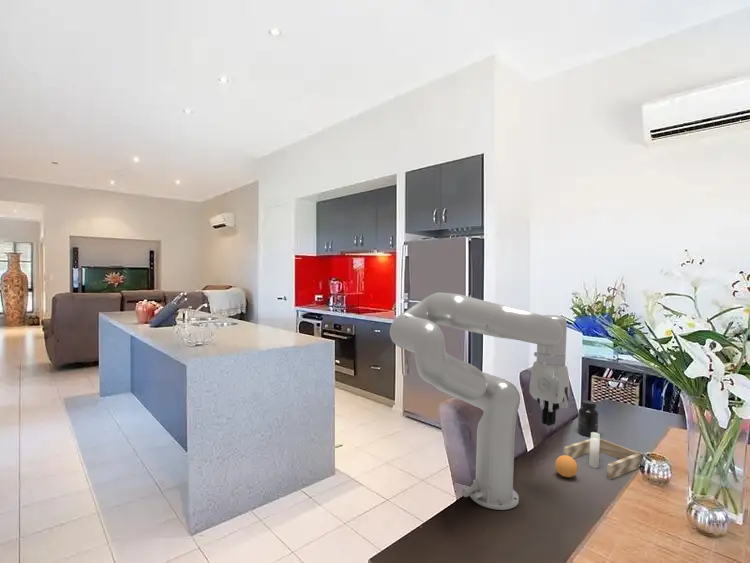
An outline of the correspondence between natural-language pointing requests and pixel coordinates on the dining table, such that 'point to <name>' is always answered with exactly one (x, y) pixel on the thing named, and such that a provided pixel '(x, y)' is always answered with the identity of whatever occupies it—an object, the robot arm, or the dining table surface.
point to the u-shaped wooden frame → (627, 456)
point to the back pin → (596, 436)
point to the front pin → (594, 452)
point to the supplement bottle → (588, 418)
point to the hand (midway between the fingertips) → (548, 423)
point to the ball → (566, 466)
